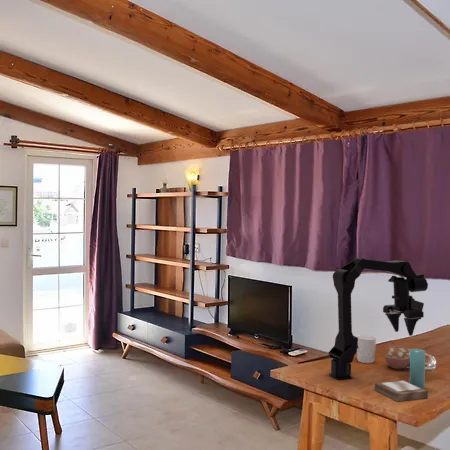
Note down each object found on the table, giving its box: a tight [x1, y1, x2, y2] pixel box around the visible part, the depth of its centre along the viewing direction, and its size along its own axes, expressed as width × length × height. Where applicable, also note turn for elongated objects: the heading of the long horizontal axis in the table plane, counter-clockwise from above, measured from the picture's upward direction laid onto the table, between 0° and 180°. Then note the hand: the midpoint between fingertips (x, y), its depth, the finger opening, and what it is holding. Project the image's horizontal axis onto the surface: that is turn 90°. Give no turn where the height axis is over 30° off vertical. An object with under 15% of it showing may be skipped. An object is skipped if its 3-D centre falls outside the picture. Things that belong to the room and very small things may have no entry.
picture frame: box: [374, 379, 429, 402], centre depth 178 cm, size 12×12×3 cm
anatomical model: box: [384, 345, 412, 370], centre depth 216 cm, size 23×10×5 cm, turn 156°
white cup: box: [355, 334, 377, 364], centre depth 219 cm, size 8×8×10 cm
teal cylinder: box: [409, 348, 426, 390], centre depth 185 cm, size 5×5×13 cm
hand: (403, 333), depth 205 cm, fingers open, 9 cm apart
